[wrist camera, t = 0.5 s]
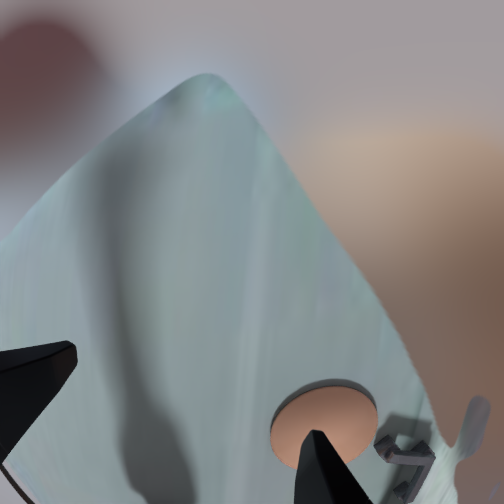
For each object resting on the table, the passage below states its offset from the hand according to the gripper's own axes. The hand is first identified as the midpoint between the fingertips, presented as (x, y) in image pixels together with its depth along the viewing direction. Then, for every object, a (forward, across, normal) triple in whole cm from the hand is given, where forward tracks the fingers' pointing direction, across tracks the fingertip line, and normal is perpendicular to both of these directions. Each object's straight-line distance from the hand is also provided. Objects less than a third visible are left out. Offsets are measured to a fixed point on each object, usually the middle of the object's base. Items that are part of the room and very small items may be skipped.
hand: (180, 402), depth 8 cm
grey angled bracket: (+11, -24, +17) cm, 32 cm away
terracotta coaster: (+13, -12, +13) cm, 22 cm away
